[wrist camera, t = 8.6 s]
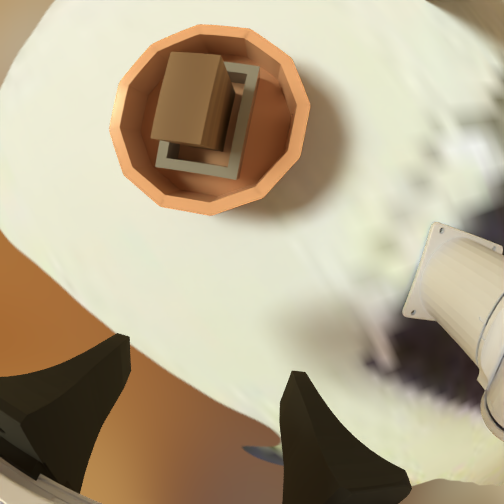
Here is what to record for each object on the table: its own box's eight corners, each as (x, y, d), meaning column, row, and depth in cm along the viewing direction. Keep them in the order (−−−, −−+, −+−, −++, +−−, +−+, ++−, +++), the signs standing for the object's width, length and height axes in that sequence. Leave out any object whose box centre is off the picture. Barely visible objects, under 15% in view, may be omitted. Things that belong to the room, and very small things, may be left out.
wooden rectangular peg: (235, 93, 17) (220, 55, 10) (222, 152, 18) (200, 144, 11) (202, 88, 17) (170, 51, 10) (189, 146, 18) (150, 138, 11)
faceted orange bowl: (311, 64, 16) (322, 43, 13) (279, 217, 20) (284, 230, 16) (156, 46, 16) (136, 25, 12) (127, 189, 19) (100, 196, 16)
